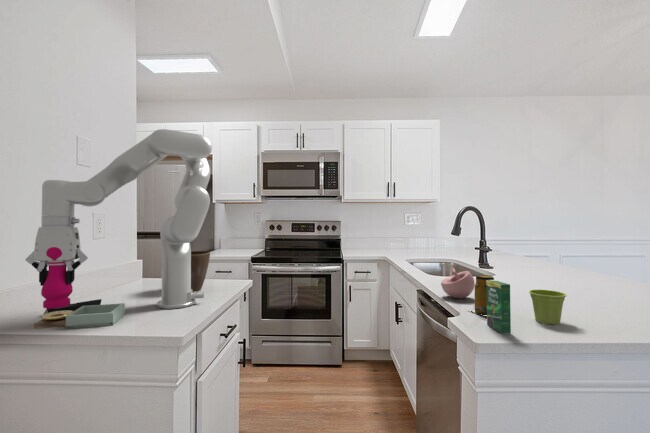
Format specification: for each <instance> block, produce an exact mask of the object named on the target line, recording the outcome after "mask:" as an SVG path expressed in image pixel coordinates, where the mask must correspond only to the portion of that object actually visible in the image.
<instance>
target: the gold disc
mask: <svg viewBox="0 0 650 433" xmlns="http://www.w3.org/2000/svg"><path fill="white" fill-rule="evenodd" d="M72 312H74V311H70V310H64V311H55V312H50V313H46V314H44V313H43V314H42V315H41V320H53V321H56V320H63V318H66V316H67V315H69V314H70V313H72Z"/></svg>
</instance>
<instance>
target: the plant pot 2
mask: <svg viewBox="0 0 650 433" xmlns="http://www.w3.org/2000/svg"><path fill="white" fill-rule="evenodd" d="M528 293H529V294H530V298H531V301H532V306H533V307H532V308H533V313H534V318H535V321H537V322H538V323H541V324H545V325H552V324H553V325H559V324H561V320H562V319H561V318H562V313H563V306H564V301H565V300H566V299H565V298H566V297H567V293H564V292H561V291H559V290H558V291H557V290H553V289H552V290H548V289H530V290H528Z"/></svg>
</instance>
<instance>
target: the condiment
mask: <svg viewBox="0 0 650 433" xmlns="http://www.w3.org/2000/svg"><path fill="white" fill-rule="evenodd" d="M486 280H495V278H494V276H492V275H487V274H478V275H476V276H475V285H474V289H473V290H474V294H473V295H474V310H475V313H474V315H479V316H481V317H483V316H482V315H487V293H486ZM471 311H472V310H471V309H470V310H468V312H469V313H472V312H471ZM480 314H482V315H480ZM484 317H486V318H487V316H484Z"/></svg>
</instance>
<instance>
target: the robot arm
mask: <svg viewBox="0 0 650 433" xmlns="http://www.w3.org/2000/svg"><path fill="white" fill-rule="evenodd" d="M212 148H213V147H212V143H211V140H209V139H208V137H206V136H205V135H202V134H200V133H199V134H198V133H193V132H185V131H179V130H173V129H165V128H164V129H163V128H160V129H159V128H158V129H156V130H154V131H153V132H151V134H149V135H148V136H147V137H145V138H143V139H142V140H141V141H139V142H138V143H136V144H135V145H133V146H132V147H131V148H129V149H127V150H126V151H125V152H122V153H121V154H120V155H118V156H117V157H116V158H115V159H114V160H112V161H111V162H110V164H108V165H107V166H105V168H103V169H101V171H99V172H98V173H97V174H95V175H94V176H92V177H91V178H89V179H87V180H86V181H68V180H60V179H59V180H58V179H47V180H45V181H44V182H43V183H42V184H41V185H42V186H41V227H38V229H37V232H36V237H35V242H34V251H32V252H31V253H30V254H29V255H28V256H27V257H26V258H25V261H26V262H27V263H28V264H30V265H31V266H32V267H33V268H34V269H35V270H36V271H37V272H38V281H39V284H40V286H41V287H43V285H44V283H45V281H46V279H47V276H48V271H49V269H48V268H49V266H48V265H47V261H52V259H51V258H49V257H48V256H47V255H46V252H47V250H48V249H49V248H51V247H57V248H59V249H60V250H61V251H62V256H61V257H59V258H57V259H56V260H57V261H59V260H60V261H65V263H66V266H67V267H66V269H67V271H66V280H65V283H66V285H69V284H73V282H75V276H76V274H75V272H76V271H75V270H77V268H78V267H80V266H81V265H82V264H83V263H84V262H86V261H87V260H88V259H89V258H88V256H87V255H86V253H84V252H83V251H82V250H81V240H80V231H79V229H78V227H77V226H75V225H76V224H80V218H76V217H75V205H79V206H80V205H81V206H84V207H87V208H88V207H91V208H92V207H95V206H98V205H100V204H102V203H103V202H104V201H105V199H106V198H108V197H110V196H111V195H112V194H113V193H115V192H116V191H117V190H119V189H121V188H122V187H124V186H125V185H127V184H129V183H131V182H133V181H135V180H136V179H138V178H139V177H140V176H142V175H143V174H145V173H146V172H148V171H149V170H150V169H152V168H153V167H154V166H156V165H157V164H159V162H161V161H163V160H164V159H165V158H166V157H168V156H176V157H180V158H181V159H182V161H183V162H184V164H185V165H184V166H185V174H184V176H183V178H182V181H181V184H180V187H179V188H178V190H177V193H176V195H175V197H174V206H175V208H176V212H175V214H174V215H171V216H170V215H169V216H168V217H167V218H165V219H164V220H163V221H162V222H161V225H160V231H159V235H160V243H161V299H160V300H159V301H157V302H156V307H157V308H159V309H165V310H166V309H167V310H169V309H170V310H171V309H180V308H186V307H187V308H188V307H190V306H193V305H195V304H196V299H204V298H205V292H201V291H197V292H192V289H191V251H192V249H191V248H192V247H191V243H192V241H193V242H194V240H196V238H197V237H198V235H199V233H200V232H201V229H202V227H203V224H204V221H205V219H206V217H207V214H208V211H209V208H210V206H211V205H210V204H211V199H210V194H209V192H208V191H207V188H208V184H209V182H210V179H211V168H210V165H209V162H208V158H209V156H210V155H211V153H212V150H213V149H212ZM75 260H77V261H75Z"/></svg>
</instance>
